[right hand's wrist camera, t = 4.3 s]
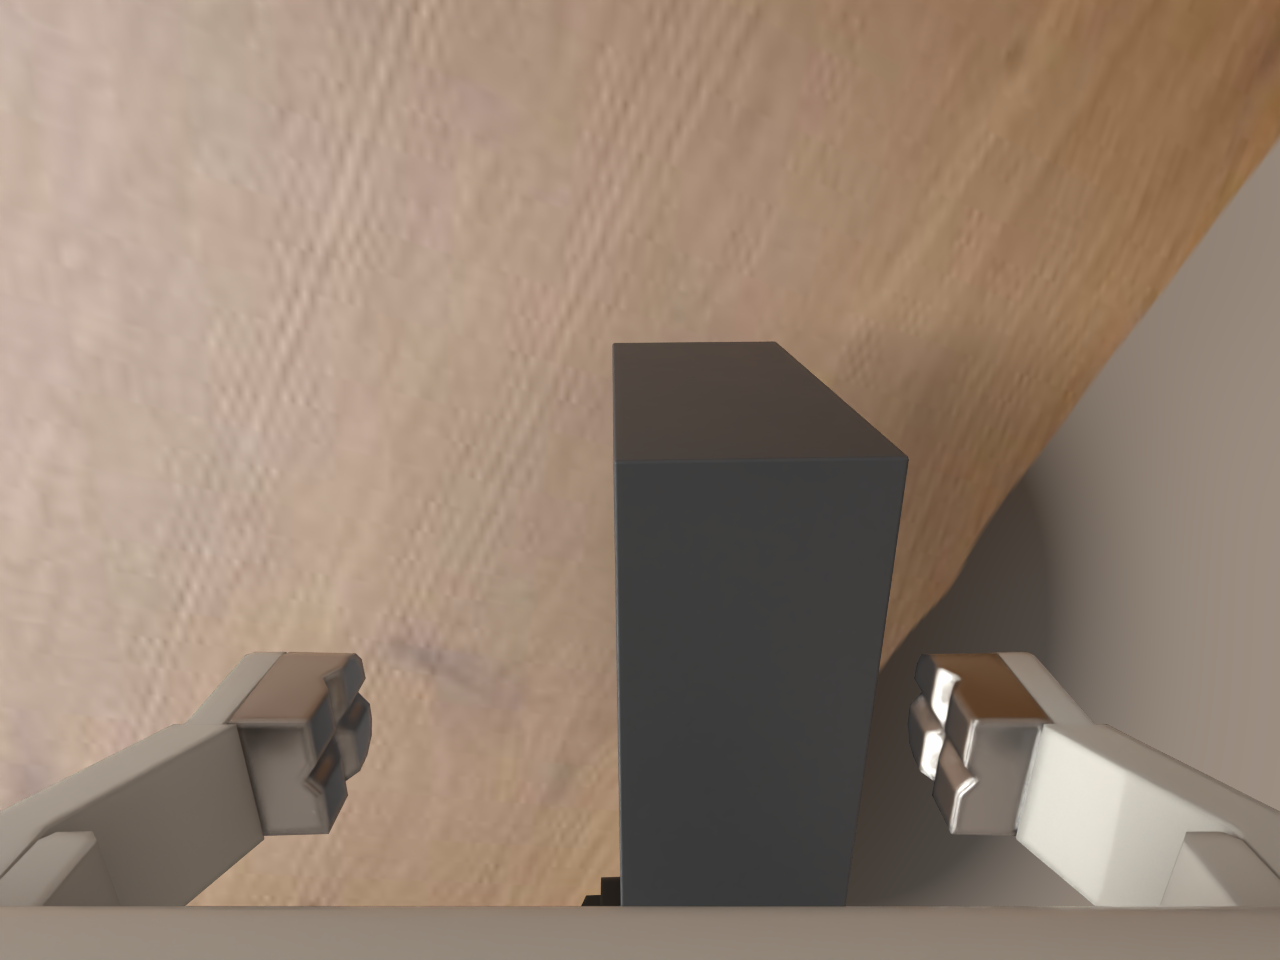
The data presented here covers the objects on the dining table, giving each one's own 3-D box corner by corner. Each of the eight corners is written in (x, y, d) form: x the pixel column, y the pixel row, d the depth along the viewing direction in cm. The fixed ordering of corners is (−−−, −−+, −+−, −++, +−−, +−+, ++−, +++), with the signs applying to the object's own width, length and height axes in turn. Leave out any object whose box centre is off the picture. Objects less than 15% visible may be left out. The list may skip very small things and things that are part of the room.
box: (612, 342, 26) (613, 460, 14) (776, 341, 26) (910, 456, 15) (619, 797, 34) (624, 1117, 22) (746, 793, 34) (817, 1108, 22)
